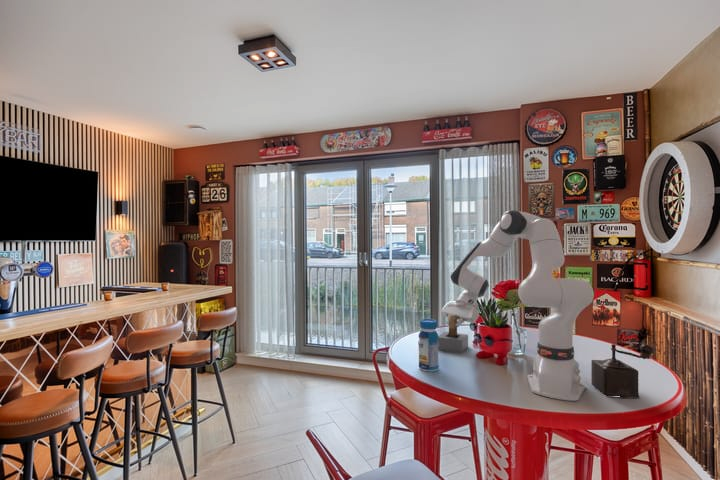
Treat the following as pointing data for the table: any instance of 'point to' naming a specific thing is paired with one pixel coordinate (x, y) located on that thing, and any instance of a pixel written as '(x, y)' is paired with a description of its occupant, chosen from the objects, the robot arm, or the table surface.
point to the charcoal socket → (453, 342)
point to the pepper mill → (618, 374)
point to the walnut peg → (452, 326)
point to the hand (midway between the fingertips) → (452, 325)
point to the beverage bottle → (428, 345)
